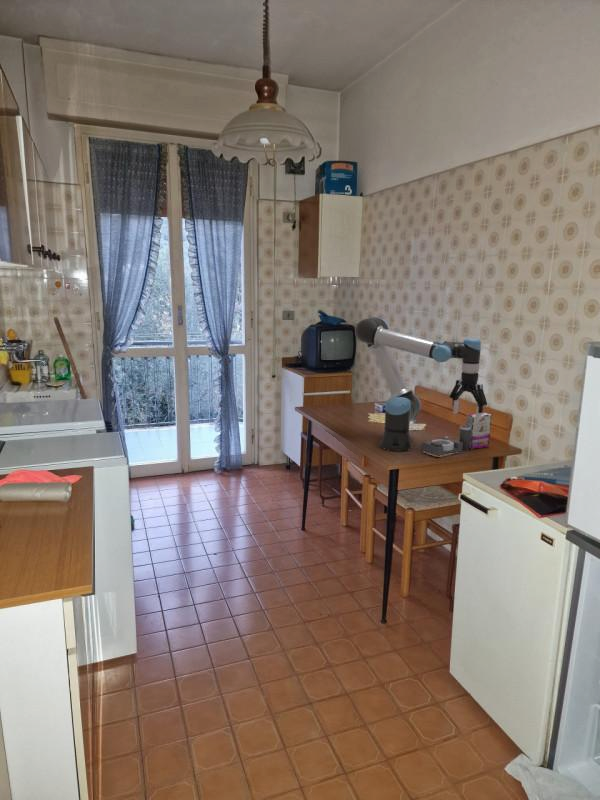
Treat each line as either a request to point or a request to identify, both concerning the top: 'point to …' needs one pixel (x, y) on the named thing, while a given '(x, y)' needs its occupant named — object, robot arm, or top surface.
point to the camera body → (442, 446)
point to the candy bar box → (479, 430)
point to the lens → (465, 436)
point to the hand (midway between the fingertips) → (466, 416)
